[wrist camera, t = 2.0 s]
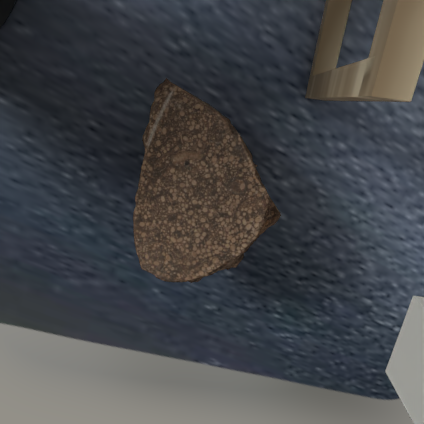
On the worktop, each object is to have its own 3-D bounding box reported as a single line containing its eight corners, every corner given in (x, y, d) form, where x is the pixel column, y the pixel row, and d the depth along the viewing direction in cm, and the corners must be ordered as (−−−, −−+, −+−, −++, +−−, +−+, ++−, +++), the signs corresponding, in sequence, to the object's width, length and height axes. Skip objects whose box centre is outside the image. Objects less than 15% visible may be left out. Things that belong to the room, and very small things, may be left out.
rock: (117, 84, 21) (249, 52, 15) (216, 113, 29) (329, 100, 23) (115, 274, 23) (236, 315, 16) (210, 252, 31) (316, 275, 24)
